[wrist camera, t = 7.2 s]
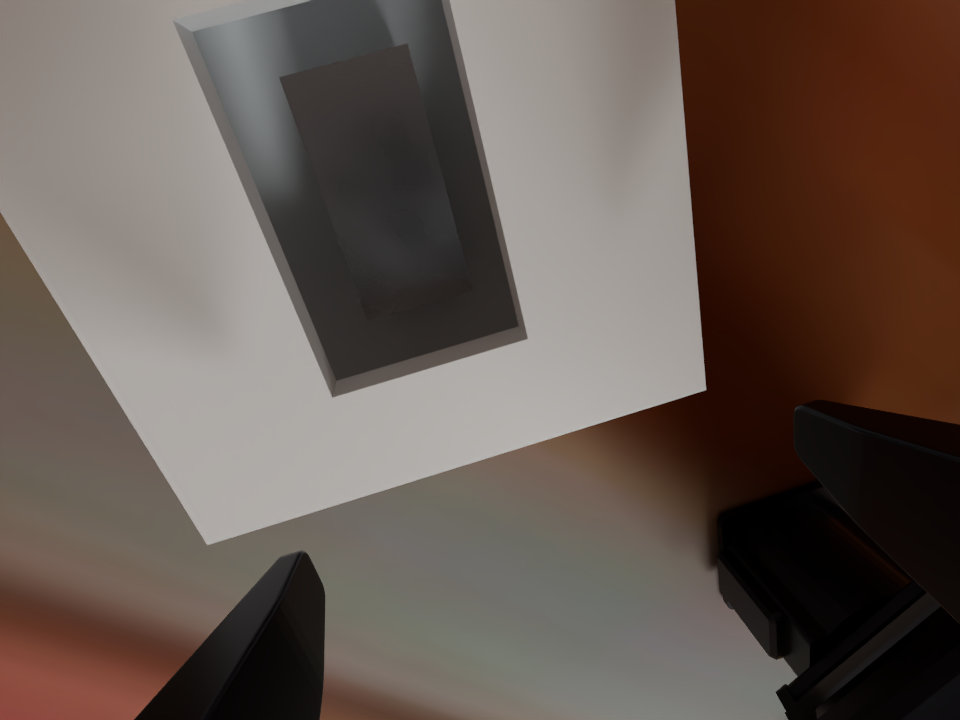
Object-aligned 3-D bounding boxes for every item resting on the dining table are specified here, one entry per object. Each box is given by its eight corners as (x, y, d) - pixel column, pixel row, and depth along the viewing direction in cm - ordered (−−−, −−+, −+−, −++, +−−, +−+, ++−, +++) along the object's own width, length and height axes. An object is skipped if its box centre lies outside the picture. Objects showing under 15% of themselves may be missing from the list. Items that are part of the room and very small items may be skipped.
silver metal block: (403, 69, 15) (407, 43, 12) (456, 262, 18) (472, 290, 14) (306, 95, 15) (279, 77, 12) (372, 286, 18) (367, 321, 14)
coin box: (537, -125, 15) (647, -335, 8) (608, 316, 20) (706, 390, 14) (60, -2, 14) (-213, -130, 8) (267, 418, 20) (207, 545, 13)
